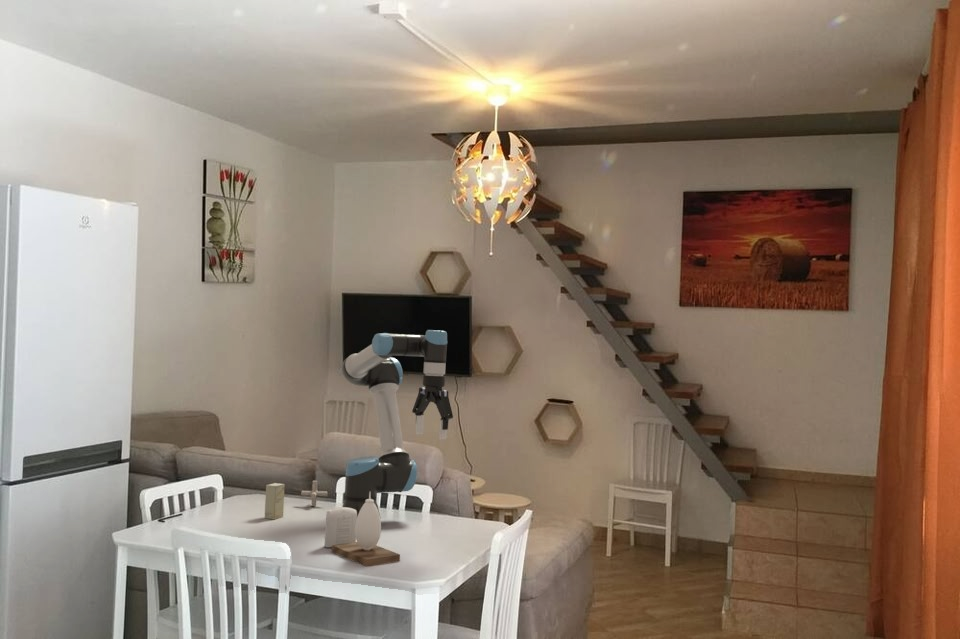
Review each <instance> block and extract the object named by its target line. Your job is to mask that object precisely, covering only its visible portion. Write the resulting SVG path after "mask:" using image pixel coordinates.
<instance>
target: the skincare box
mask: <svg viewBox="0 0 960 639" xmlns="http://www.w3.org/2000/svg"><path fill="white" fill-rule="evenodd" d="M285 486H286V485H285V483H280V482H279V483H277V482H274V483H269V484H266V485H265V500H264V502H265V503H264V519H268V520H277V519H280V518H283V517H284V511H285V510H284V508H285V506H284V505H285Z"/></svg>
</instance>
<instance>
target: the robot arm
mask: <svg viewBox="0 0 960 639" xmlns="http://www.w3.org/2000/svg"><path fill="white" fill-rule="evenodd" d="M447 349H448V333H447V331H445V330H434V329H427V330H426V331H425V335H424V334H405V333H404V334H403V333H401V334H400V333H388V332H383V333H376V334H374V336H373V338H372V341H371V344H369V345H368V346H367V347H365V348H364V349H362V350H360V351H359V352H358V353H352V354H350V355H349V356H348V357H346V358H345V359H344V360H343V362H342V365H341V373H342V375H343V377H344V378H345V380H346V381H347V382H348V383H350V384H351V385H352V384H353V385H354V386H358V387H359V386H360V387H368V391H369V394H371V395H372V396H373V400H374V407H375V414H376V420H377V421H376V422H377V430H378V437H379V444H380V450H381V454H380V455H379V457H376V456H361V457H356V458H352V459H350V460H349V461H348V462H347V463H346V467H345V468H346V469H345V474H344V475H345V483H344V484H345V485H344V501H343V504H342V506H341V507H347V508H352V509H355V510H356V511H357V517H358V514H359V512H360V510H361V508H362V506H363V505H364V503H365V500H366V499H369V493H370V492H371V499H373V500H374V504H375V505H376V507H377V509H378V511H379V515H380V519H381V513H380V510H379V506H378V501H377V500H378V494H383V493H385V494H386V493H403V492H409V491H411V490H412V489H413V488H414V486H415V485H416V482H417V480H418V479H417V478H418V466H417V463H416V461H415V460H414V459H410V453H409V452H407V451H406V450H405V447H404V440H403V433H402V426H401V419H400V412H399V405H398V400H397V394H396V393H397V391H398V390H399V388H400V385H401V384H402V383H403V382H402V381H403V373H404V372H403V368H402V365H401V362H400V361H399V360H398V359H396V358H395V357H393V356H398V357H399V356H401V357H402V356H403V357H423V358H424V360H423V372H422V373H423V374H424V375H423V376H422V377H423V379H422V386H423V387H419V388H418V394H417V397H416V399H415V402H414V405H413V406H412V407H413V408H412V411H411V412H412V413H414V414H415V435H424V428H425V427H424V426H425V424H424V423H425V412H426V410H427V408H428V406H429V405H430V403H434V404H435V406H436V408H437V411H438V412H439V415H440V417H441V418H440V419H439V434H438V436H439V437H438V439H439V440H447V438H448V429H449V420H450V419H451V420H452V419H453V418H454V414H453V411H452V406H451V401H450V398H449V390H445V389H444V390H443V387H445V386H446V385H445V384H446V377H445V376H444V375H446V363H447V351H448V350H447Z"/></svg>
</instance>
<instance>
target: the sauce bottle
mask: <svg viewBox="0 0 960 639" xmlns="http://www.w3.org/2000/svg"><path fill="white" fill-rule="evenodd" d="M378 509H379V508H378ZM378 509H377V507H376V505H375V504H374V500H373V499H371V492H370V493H369V499H366V500H365V503H364V505H363V506H362V508H361V510H360V512H359V514H358V517H357V520H356V526H355V535H356V542H357V543H358V545H359V546H361V548H362V549H364V550H370V549H373V547H374V546H376V545H377V544H378V543H379V541H380V538H381V536H382V535H381V534H382V521H381V519H380V517H381V514H380V515H379V513H380V510H379V511H378ZM377 546H378V545H377Z"/></svg>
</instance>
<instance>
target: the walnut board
mask: <svg viewBox="0 0 960 639" xmlns="http://www.w3.org/2000/svg"><path fill="white" fill-rule="evenodd" d="M331 552H332V553H334V554H336V555H339V556H340V557H343V558H346V559H347V560H350V561H352V562H356V563H358V564H360V565H362V566H363V567H364V566H365V567H369V566H370V567H371V566H376V565H378V566H379V565H383V564H389V563H397V562H400V561H401V554H400V553H397V552H395V551H392V550H389V549H387V548H385V547H382V546H379V545H376V546H374V547H373V549H370V550H364V549H362V548H361V546H359V545H358V543H357V541H356V542H352V543H345V544H337V545H332V547H331Z"/></svg>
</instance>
